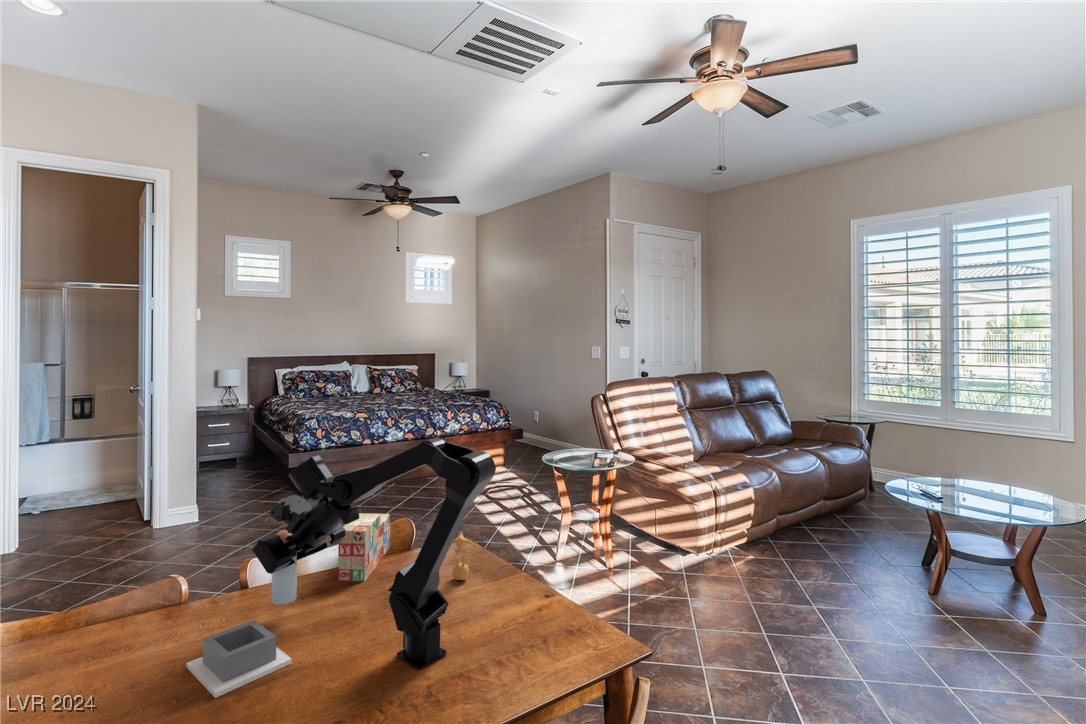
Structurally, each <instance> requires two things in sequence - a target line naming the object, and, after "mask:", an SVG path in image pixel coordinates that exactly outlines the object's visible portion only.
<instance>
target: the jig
mask: <svg viewBox="0 0 1086 724" xmlns="http://www.w3.org/2000/svg"><path fill="white" fill-rule="evenodd" d="M292 662H293V661H292V658H291V657H290V655H289V656H288V654H287V653H285V652H284V651H282V650H281V649H280V648H279V647H277V635H275V634H274V633H273V632H271V631H269V630H268V629H267V628H265V626H263V625H262V624H261V623H259V622H258V621H256V620H255V619H253V620H251V621H248V622H246V623H244V624H243V623H242V624H240V625H238V626H234V627H231V628H229V629H227V630H224V631H221V632H218V633H216V634H213V635H210V636H207V637H204V638H203V639H202V656H200V657H198V658H195V659H193V660H190V661H188V662H186V668H187V670H188V671H189V672H190V673H191V674H192V676H194V677H195V679H197V680H198V681H199V683H201V684H202V686H203V687H205V689H206V690H207V691H208V692H209V693H210V694H211V695H212V696H213V697H214V698H215V699H216V698H218V697H221V696H223V695H226V694H227V693H229V692H231V691H235V690H236V689H239V688H240V687H244V686H245V685H247V684H249V683H252V682H253V681H256V680H258V679H260V678H262V677H265V676H267V675H270V674H272V673H273V672H277V671H278V670H281V669H282V668H284V667H287V666H289V665H291V664H292Z"/></svg>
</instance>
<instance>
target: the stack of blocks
mask: <svg viewBox="0 0 1086 724" xmlns="http://www.w3.org/2000/svg"><path fill="white" fill-rule="evenodd" d="M390 520H391V514H390V513H359V519H358V520H355V521H353V522H351V523H349V524H347V525H346V524H344V525H342V526H343V527H344V529H345V537H344V538H343V539H342V540H341V541H340V542H338V545H337V546H338V547H337V548H338V550H337V551H338V552H337V553H338V554H337V555H338V568H337V570H338V571H337V572H338V573H337V581H338V582H359V583H362V582H366V580H367V579H368V577H370V576H371V574H372V573H373V571H374V570H376V567H377V565H378V564H379V562H380V561H381V559H382V558H383V557H384V556H385V555H386V553H387V552H388V550H389V549H390V548H391V543H390V542H391V525H390V523H391V521H390ZM379 560H380V561H379Z"/></svg>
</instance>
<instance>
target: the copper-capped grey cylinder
mask: <svg viewBox="0 0 1086 724" xmlns="http://www.w3.org/2000/svg"><path fill="white" fill-rule="evenodd" d="M275 535H279V536H280V538H281V539H282V541H283V542H284V543H286V542H287V541H286V539H285V538H286V537H288V536H290V535H292V534H291V533H288V532H287V530H286V529H283V530H280V531H278V532H277V533H275ZM296 553H297V552H296ZM292 559H293V560H294V562H295V563H294V564H292V565H290V566H288V567H286V568H283V569H281V570H278V571H276V572H274V573H272V574H271V603H272V604H274V605H277V606H278V605H279V606H280V605H287V604H290V603H293V602H294V601H296V600H297V590H298V589H297V586H298V585H297V582H298V581H297V578H298V575H297V573H298V571H297V568H298V567H297V566H298V565H297V563H298V562H297V561H298V560H297V555H296V556H295V557H294V558H292Z"/></svg>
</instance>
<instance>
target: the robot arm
mask: <svg viewBox="0 0 1086 724" xmlns="http://www.w3.org/2000/svg"><path fill="white" fill-rule="evenodd" d="M425 465H426V466H428V467H430V468H431V469H432V470H433V472H435V474H437V476H439V477H441V478H443V479H444V480H445V482H444V494H445V497H444V500H443V502H442V504H441V506H440V508H439V510H438V513H437V514H436V516H435V518H434V521H433V523H432V525H431V527H430V529H429V532H428V533H427V536H426V538H425V539H424V542H423V543H422V546H421V548H420V549H419V553H418V555H417V557H416V558H415V559H414V560H413V561H412V562H410V563H408V564H407V565H406V566H403V568H401V569H400V570H398V571H397V572H396V574H395V577H394V580H393V583H392V585H391V587H389V589H387V591H388V592H390V594H389V596H388V604H389V605H390V608H391V612H392V615H393V619H394V621H395V626H396V630H397V631H399V632H402V648H403V649H402V650H400V651H397V652H396V657H397V658H398V659H399V660H401V661H403V662H404V663H406V664H408V665H409V666H410V667H412V668H414V669H416V670H417V671H419V670H423V669H424V668H425V667H427V666H429V665H431V664H433V663H434V662H437V660H439V659H441V658H443V657H444V656H446V655H447V653H448V652H447V650H445V649H444V648H442V647H441V623H440V622H439V619H440V618H441V616H443V615H445V614H446V612H447V610H448V607H449V602H448V601H447V599H446V598H445V597H444V596H443V594H442V593H441V591H440V590H439V584H440V582H441V581H440V577H441V576H440V569H441V567H442V564H443V563H444V560H445V559H446V556H447V554H448V553H449V550H450V548H451V546H452V544H453V543H452V542H453V540H454V539H456V538H455V537H456V536H457V533H458V531H459V530H460V527H461V526H462V524H463V521H464V519H465V517H466V515H467V512H468V510H469V509H470V507H471V505H472V503H474V501H475V500H476V499H477V498H478V497H479V495H480V494H481V493H482V492H483V491H484V490H485V488H486V487H487V486H489V485H488V484H490V482H491V481H492V479H493V478H494V476H495V475H496V471H497V465H495V460H494V459H493V456H492V455H490V454H489V453H488V452H486V451H484V450H474V449H472V448H470V447H466V446H463V445H459V444H456V443H453V442H449V441H447V440H445V439H443V438H440V437H432V438H429V439H426V440H422V441H421V442H419V443H418V444H417V445H415V446H413V447H411V448H409V449H406V450H404V451H403V452H400V453H397V454H395V455H394V456H391V457H390V458H387V459H384V460H382V461H380V462H378V463H377V464H373V465H367V466H363V467H359V468H356V469H354V470H351V471H346V472H344V473H340V474H339V473H338V474H336V475H333V473H332V472H331V471H330V470H329V468H328V467H327V465H326V464H325V463H324V460H323V458H322V457H321V455H320V454H318V455H317V454H316V455H314V456H313V455H312V456H310V457H309V459H307V460H305V461H303V462H302V463H300V464H298V465H297V466H296V467H293V468H292V469H291V470H290V472H289V474H288V477H289V478H290V480H291V481H292V483H293V484H294V485H295V487H296V488H297V490H298V491H299V492H300V494H301V495H302V496H300V495H298V494H297V495H296V494H294V495H290V496H286V497H283V498H281V499H279V500H278V501H275V503H274V505H272V506H270V507H271V508H270V509H271V510H270V512H269V516H270V517H271V518H272V519H273V520H275V521H277V522H278V523H279V522H283V523H285V524H286V525H287V526H286V527H285V529H284V530H287V532H288V533H291V534H292V535H290V536H288V537H286V538H285V539H286V541H287V542H286V543H284V542H283V541H282V539H281V538H280V536H279V535H276V533H275V534H274V533H273V534H270V535H267V536H265V537H262V538H260V539H258V540H257V541H256V542H255V543H254V544H253V545H252V549H251V550H252V552H253V554H255V556H256V558H257V560H258V561H259V562H260V564H261V565H262V567H263V569H264V571H265V572H266V573H267V574H271V575H272V573H274V572H276V571H278V570H281V569H283V568H286V567H288V566H290V565H292V564H294V563H295V562H294V560H293V559H292V558H294V557H295V556H296V555H297V561H300V560H302V559H304V558H306V557H309V556H312V555H314V554H315V555H316V554H318V553H319V552H321V551H324V550H325V549H327V548H328V544H327V541H326V540H327V539H326V538H327V537H328V536H329V538H330V539H331V540H330V541H329V544H330V545H331V546H334V545H335V544H337V543H339V542H340V541H341V540H342V539H343V538H344V537H345V529H344V527H343V526H344V525H345V524H346V525H347V524H349V523H351V522H353V521H355V520H358V519H359V506H356V505H354V503H357V502H360V501H362V500H365V499H367V498H369V497H371V496H372V495H374V494H375V493H377V492H378V491H379V490H381V488H384V487H383V486H385V485H386V484H387V483H388V482H390V481H392V480H394V479H397V478H399V477H401V476H404V475H406V474H408V473H411V472H412V471H415V470H417V469H418V468H421V467H423V466H425ZM311 499H312V500H313V501H317V500H319V501H317V502H316V503H315V505H313V507H312V505H311V503H309V502H308V500H311ZM341 522H343V524H344V525H343V524H342V523H341ZM296 552H297V553H296Z"/></svg>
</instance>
